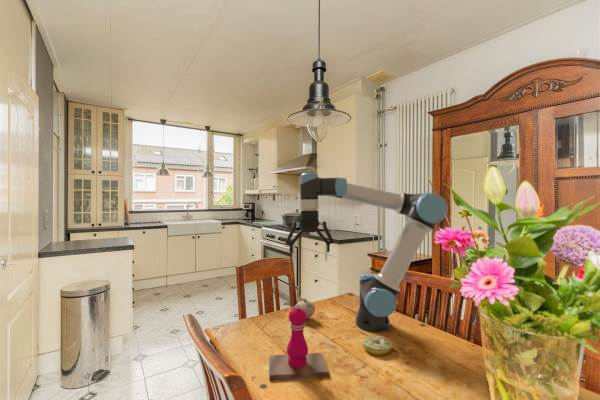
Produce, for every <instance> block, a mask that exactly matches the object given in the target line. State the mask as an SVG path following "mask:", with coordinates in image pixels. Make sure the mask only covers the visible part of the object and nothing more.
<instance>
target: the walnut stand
mask: <svg viewBox="0 0 600 400" xmlns="http://www.w3.org/2000/svg"><path fill="white" fill-rule="evenodd" d="M288 357H289V356H288V354H271V355H270V354H269V358H268V362H269V363H268V364H269V365H268V366H269V367H268V369H269V372H268V373H269V376H268V377H269V378H268V379H269V381H277V380H294V379H309V378H310V379H313V378H323V377H324V378H325V377H326V378H327V377H328V378H329V375H330V373H329V369H328V366H327V363H326V361H325V357H324V354H323V352H312V353H311V352H308V354H307V355H306V358H307V363H306V365H305V366H304V367H302V368H293V367H291V366H289V364H288Z"/></svg>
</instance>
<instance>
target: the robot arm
mask: <svg viewBox="0 0 600 400" xmlns="http://www.w3.org/2000/svg"><path fill="white" fill-rule="evenodd" d="M299 183H300V184H299V187H300V189H299V190H300V192H299V194H300V221H299V222H297V221H293V222H292V227H291V229H290V231H289V234H288V236H287V238H286V239H285V244H286V245H288V246H289V253H290V254H291V255H292V259H291V260H292V263H293V262H294V263H295V261H296V258H295V257H296V256H295V255H296V254H295V253H296V251H295V247H296V246H295V244H296V242H297V240H298V239H299V238H300V237H301V236H302V234H304V233H316V234H317V235H318V236H319V237H320V238H321V239H322V240H323V242H324V244H323V254H324V255H323V260H324V261H328V253H330V251H331V250H330V247H331V246H330V245H331V244H334V242H335V240H334V239H333V236H332V235H331V233H330V231H329V229H328V226H327V222H326V221H325V220H324V221H320V220H319V210H318V209H319V196H320V197H321V196H323V197H324V196H325V197H327V196H328V197H331V198H332V197H334V198H337V199H343V200H346V201H347V200H348V201H351V202H355V203H361V204H364V205H370V206H373V207H374V206H375V207H378V208H382V209H387V210H393V211H395V212H396V214H400V215H404V216H405V217H404V218H405V221H406V223H405V226H404V227H403V228H402V231H401V233H400V235H399V236H398V238H397V240H396V241H395V244H394V246H393V248H392V250H391V251H390V253H389V255H388V257H387V259H386V260H385V262H384V264H383V266H382V268H381V270H380V271H379V273H362V274H360V276H359V279H358V280H359V307H358V310H357V314H356V316H355V325H356V327H358V328H360V329H362V330H365V331H368V332H369V331H370V332H375V333H376V332H378V333H379V332H384V331H387V330H389V329H390V327H391V326H390V325H391V322H390V318H389V316H390V315H392V314H393V313H394V311H395V310H396V307H397V299H398V298H397V297H398V296H399V293H401V287H400V284H401V281H402V279H403V278H404V276H405V274H406V272H407V271H408V269H409V267H410V265H411V263H412V261H413V260H414V258H415V256H416V254H417V252H418V250H419V248H420V247H421V245H422V243H423V242H424V240H425V238H426V236H427V234H428V233H430V232H433V231H434V229H435V228H436V227H437V225H438V223H440V222H441V221H443V220H444V219H445V218H446V216H447V214H448V210H449V209H448V204H447V201H446V199H444V197H442V196H441V195H439V194H437V193H433V192H424V193H407V192H401V193H395V192H392V191H385V190H381V189H377V188H373V187H372V188H371V187H367V186H362V185H358V184H352V183H349V182H348V180H347V178H345V177H319V174H318V173H316V172H305V173H302V174H301V175H300V181H299ZM436 194H437V195H436ZM437 196H438V197H437ZM438 198H439V199H438ZM442 207H443V209H442ZM443 210H444V211H443ZM444 212H445V214H444ZM445 215H446V216H445ZM299 226H300V230H299V231H298V232H297V233H296V235H295V236H294V237H293V235H294V234H295V233H294V232H296V229H297V228H298V227H299ZM320 226H321V228H323V231H324V233H325V234H326V236H327V238H328V239H327V238H326V236H325V235H323V233H322V232H321V231H320V229H318V228H319V227H320ZM292 237H293V238H292Z"/></svg>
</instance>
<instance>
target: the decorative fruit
mask: <svg viewBox="0 0 600 400" xmlns="http://www.w3.org/2000/svg"><path fill="white" fill-rule="evenodd" d="M297 304H299V305H300V308H301V309H303V310H304V311H305V313H306V320H307V319H309V318H312V317H313V315H314V314H315V311H316V306H315V304H314V303H313V302H311V301H309V300H308V299H306V297H305V298H301V299H300V301H299V302H298V303H297Z"/></svg>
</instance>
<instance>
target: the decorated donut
mask: <svg viewBox="0 0 600 400" xmlns="http://www.w3.org/2000/svg"><path fill="white" fill-rule="evenodd" d="M362 345H363V349H364V350H365V351H366V352H367V353H369V354H371V355H373V356H379V357H382V356H386V355H388V354H390V352H391V351H392V348H393V344H392V343H391V342H390V340H388V338H387V339H386V338H385V337H383V336H379V335H377V336H376V335H374V336H373V335H372V336H367V337H365V338H364V339H363V341H362Z"/></svg>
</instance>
